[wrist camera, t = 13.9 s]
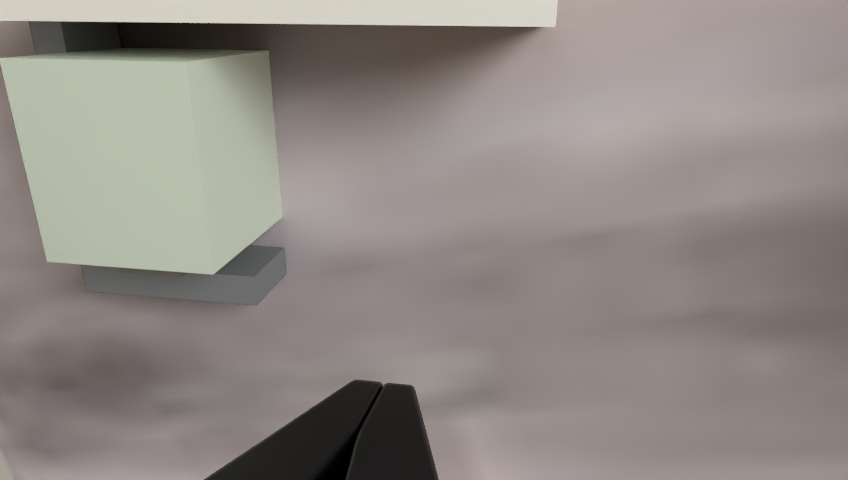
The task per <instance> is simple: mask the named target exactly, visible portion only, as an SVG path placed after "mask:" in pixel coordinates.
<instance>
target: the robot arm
mask: <svg viewBox="0 0 848 480" xmlns="http://www.w3.org/2000/svg"><path fill="white" fill-rule="evenodd" d="M204 480H439V479H438V475H437V471H436V468H435V464H434V460H433V456H432V452H431V449H430V445H429V441H428V437H427V433H426V429H425V426H424V422H423V418H422V414H421V410H420V407H419V403H418V399H417V395H416V391H415V389H414V387H413V386H412V385H405V384H395V383H386V384H385V385H384V386H383V384H382V383H381V382H375V381H365V380H354V381H352V382H350V383H348V384H347V385H345V386H344V387H342V388H341V389H339V390H338V391H336V392H335V393H333V394H332V395H330V396H329V397H327V398H326V399H324V400H323V401H321V402H320V403H318V404H317V405H315V406H314V407H312V408H311V409H309V410H308V411H306V412H305V413H303V414H302V415H300V416H299V417H297V418H296V419H294V420H293V421H291V422H290V423H288V424H287V425H285V426H284V427H282V428H281V429H279V430H278V431H276V432H275V433H273V434H272V435H270V436H269V437H267V438H266V439H264V440H263V441H261V442H260V443H258V444H257V445H255V446H254V447H252V448H251V449H249V450H248V451H246V452H245V453H243V454H242V455H240V456H239V457H237V458H236V459H234V460H233V461H231V462H230V463H228V464H227V465H225V466H224V467H222V468H221V469H219V470H218V471H216V472H215V473H213V474H212V475H210V476H209V477H207V478H206V479H204Z"/></svg>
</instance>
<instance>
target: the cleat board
mask: <svg viewBox="0 0 848 480" xmlns="http://www.w3.org/2000/svg"><path fill="white" fill-rule="evenodd" d="M557 3H558V0H0V21H29V25H30V30H31V35H32V39H33V44H34V49H35V53H36V55H42V54H54V53H67V52H79V51H91V50H103V49H115V48H121V42H120V36H119V30H118V24H117V22H157V23H245V24H333V25H421V26H509V27H556V16H557ZM81 267H82V272H83V277H84V281H85V286H86V291H89V292H101V293H113V294H125V295H137V296H149V297H161V298H173V299H185V300H197V301H208V302H220V303H232V304H244V305H256V306H257V305H258V304H259V303H260V302H261V301H262V300H263V299H264V297H265V296H266V295H267V294H268V293H269V292H270V291H271V290H272V289H273V288H274V287H275V286H276V284H277V283H278V282H279V281H280V280H281V279H282V278H283V277H284V276H285V275H286V266H285V253H284V248H277V247H263V246H247V247H246V248H245V249H244V250H242V251H241V252H240V253H239V254H238V255H236V256H235V257H234V258H233V259H232V260H230V261H229V262H228V263H227V264H225V265H224V266H223V267H222V268H221V269H219V270H218V271H217V272H216V273H215V274H213V275H211V274H198V273H187V274H186V275H185V276H184V277H172V276H159V275H146V274H134V273H121V272H119V267H107V266H94V265H81Z"/></svg>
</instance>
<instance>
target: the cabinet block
mask: <svg viewBox="0 0 848 480" xmlns="http://www.w3.org/2000/svg"><path fill="white" fill-rule="evenodd" d="M0 65H1V69H2V73H3V77H4V81H5V86H6V90H7V94H8V98H9V103H10V107H11V111H12V115H13V120H14V124H15V128H16V132H17V136H18V141H19V145H20V149H21V153H22V158H23V162H24V166H25V170H26V175H27V179H28V183H29V187H30V192H31V196H32V200H33V204H34V208H35V213H36V217H37V221H38V225H39V230H40V234H41V238H42V242H43V247H44V251H45V255H46V259H47V262H55V263H68V264H81V265H94V266H107V267H119V272H121V273H134V274H146V275H159V276H172V277H184V276H185V275H186V274H187V273H198V274H211V275H213V274H215V273H216V272H217V271H218V270H219V269H221V268H222V267H223V266H224V265H225V264H227V263H228V262H229V261H230V260H232V259H233V258H234V257H235V256H236V255H238V254H239V253H240V252H241V251H242V250H244V249H245V248H246V247H247V246H248V245H250V244H251V243H252V242H253V241H254V240H256V239H257V238H258V237H259V236H260V235H262V234H263V233H264V232H265V231H266V230H268V229H269V228H270V227H271V226H273V225H274V224H275V223H276V222H277V221H279V220H280V219H281V218H282V206H281V194H280V181H279V169H278V157H277V145H276V132H275V120H274V108H273V96H272V83H271V71H270V59H269V50H213V49H157V48H115V49H103V50H91V51H79V52H67V53H54V54H42V55H30V56H18V57H6V58H0Z"/></svg>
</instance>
